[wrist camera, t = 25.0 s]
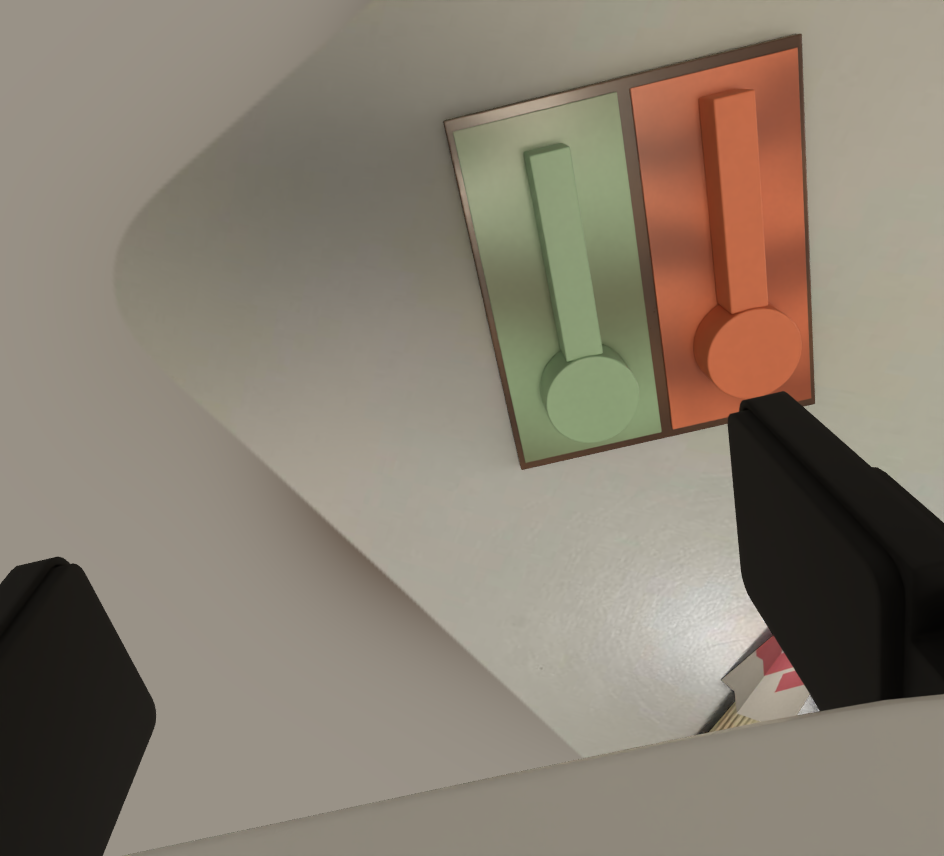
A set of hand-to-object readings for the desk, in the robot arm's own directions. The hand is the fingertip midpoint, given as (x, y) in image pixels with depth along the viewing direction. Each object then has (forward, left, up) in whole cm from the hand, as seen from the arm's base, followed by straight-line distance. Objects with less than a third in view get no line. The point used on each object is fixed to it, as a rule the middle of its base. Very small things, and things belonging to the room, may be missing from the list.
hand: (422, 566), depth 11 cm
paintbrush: (+34, +13, -28) cm, 46 cm away
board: (+5, +10, -28) cm, 30 cm away
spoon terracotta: (+5, +14, -27) cm, 31 cm away
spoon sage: (+5, +6, -27) cm, 29 cm away
